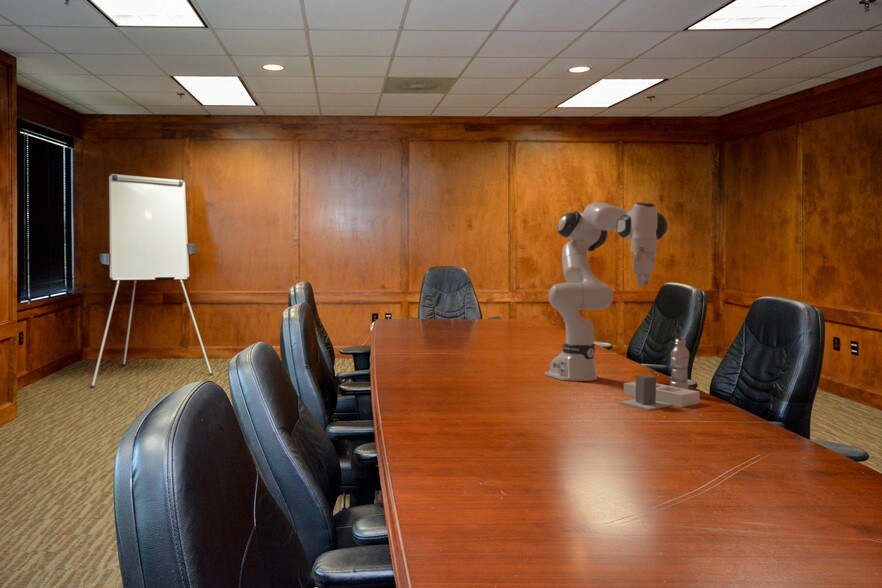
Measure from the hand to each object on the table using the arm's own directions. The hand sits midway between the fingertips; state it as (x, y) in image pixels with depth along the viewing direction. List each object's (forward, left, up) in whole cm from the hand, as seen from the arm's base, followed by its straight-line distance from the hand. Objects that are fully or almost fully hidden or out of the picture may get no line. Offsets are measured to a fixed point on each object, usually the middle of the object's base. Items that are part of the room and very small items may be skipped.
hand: (643, 285), depth 239 cm
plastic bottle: (+9, +10, -39) cm, 42 cm away
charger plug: (+13, -14, -38) cm, 43 cm away
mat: (+13, -14, -39) cm, 43 cm away
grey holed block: (+10, -2, -39) cm, 40 cm away
